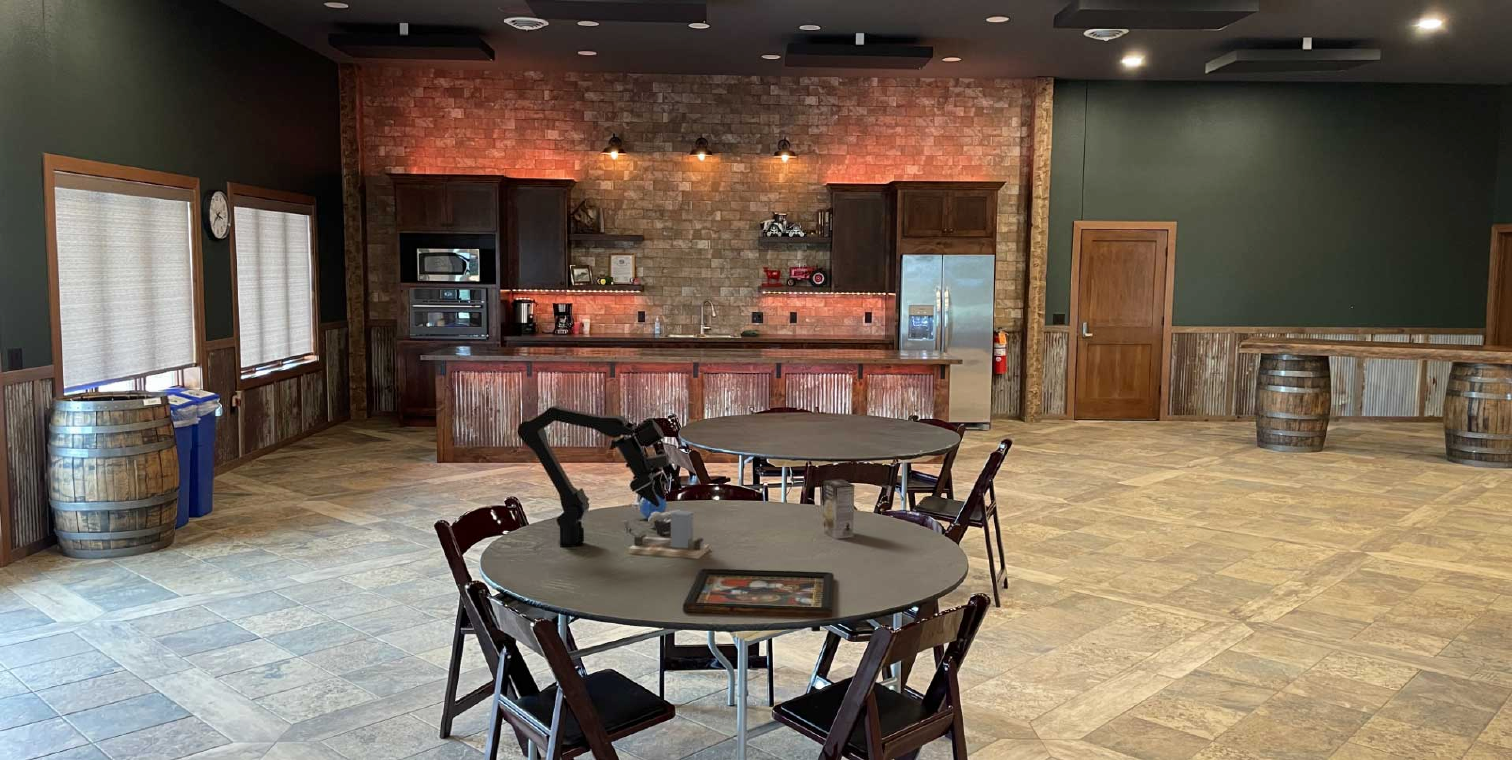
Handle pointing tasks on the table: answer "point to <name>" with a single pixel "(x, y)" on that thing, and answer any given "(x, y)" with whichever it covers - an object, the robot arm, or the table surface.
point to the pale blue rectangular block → (681, 528)
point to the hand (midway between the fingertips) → (661, 502)
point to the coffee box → (838, 508)
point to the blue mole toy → (649, 506)
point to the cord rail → (667, 547)
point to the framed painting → (762, 592)
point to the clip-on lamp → (656, 522)
